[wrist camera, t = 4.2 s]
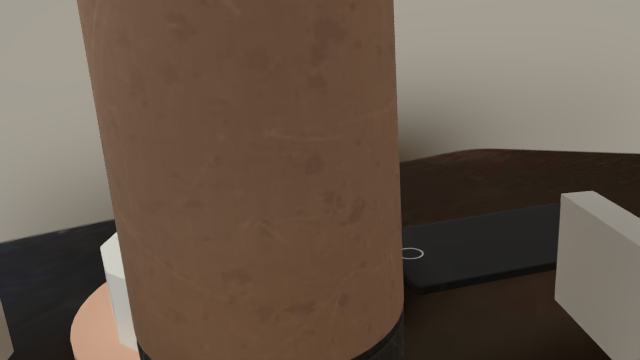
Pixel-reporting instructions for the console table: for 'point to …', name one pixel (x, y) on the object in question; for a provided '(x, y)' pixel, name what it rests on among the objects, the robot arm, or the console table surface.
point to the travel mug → (253, 174)
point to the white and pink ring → (106, 315)
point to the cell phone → (480, 248)
